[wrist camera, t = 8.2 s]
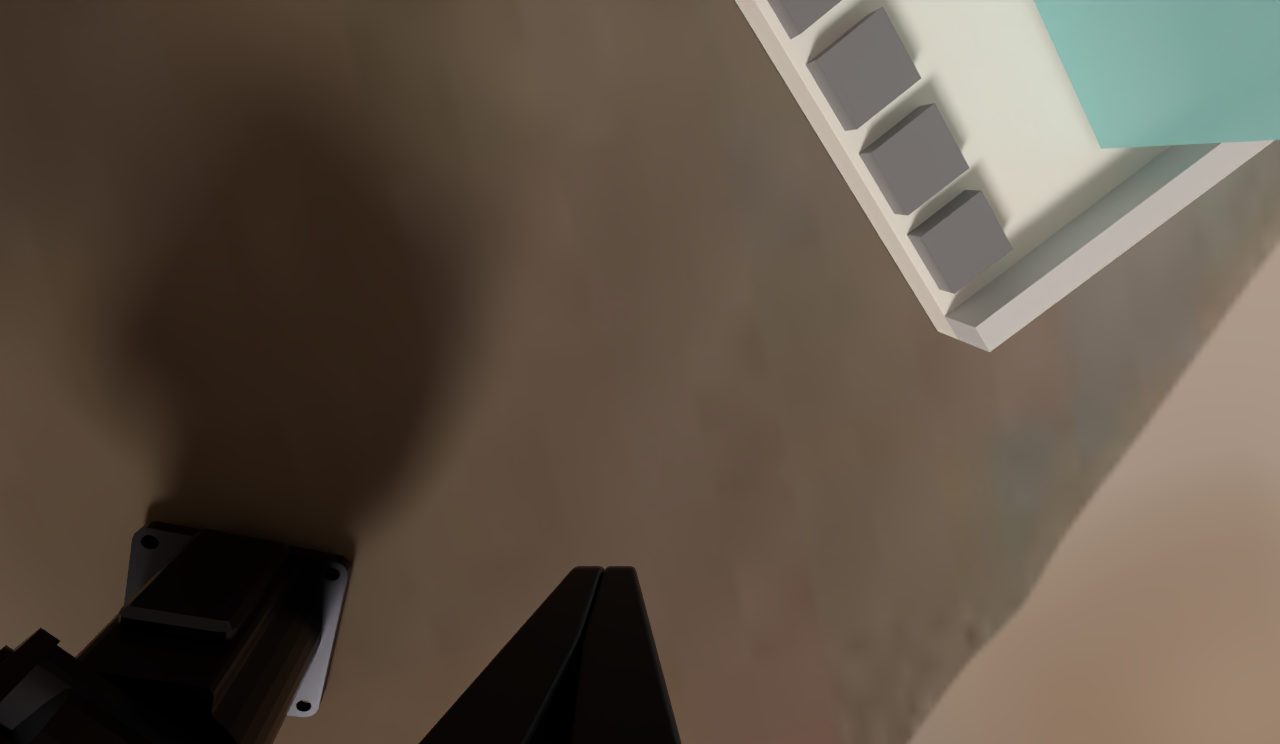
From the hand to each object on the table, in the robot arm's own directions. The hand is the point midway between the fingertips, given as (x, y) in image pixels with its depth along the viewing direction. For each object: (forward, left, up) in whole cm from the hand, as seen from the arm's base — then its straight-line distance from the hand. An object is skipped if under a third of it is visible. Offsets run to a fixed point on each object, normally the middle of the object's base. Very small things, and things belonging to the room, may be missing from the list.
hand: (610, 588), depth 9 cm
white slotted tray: (+12, -9, -13) cm, 20 cm away
